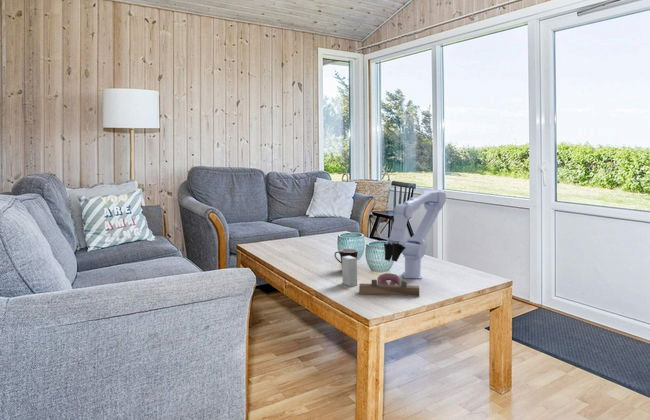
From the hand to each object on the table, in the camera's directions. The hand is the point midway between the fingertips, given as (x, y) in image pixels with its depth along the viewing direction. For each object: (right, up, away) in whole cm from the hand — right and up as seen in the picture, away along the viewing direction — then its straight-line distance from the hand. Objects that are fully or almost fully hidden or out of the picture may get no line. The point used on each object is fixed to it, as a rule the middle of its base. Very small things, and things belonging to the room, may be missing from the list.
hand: (390, 260), depth 197 cm
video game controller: (-1, -11, -3) cm, 12 cm away
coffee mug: (-18, -7, +24) cm, 31 cm away
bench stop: (-2, -12, -12) cm, 17 cm away
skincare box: (-18, -11, +1) cm, 21 cm away
